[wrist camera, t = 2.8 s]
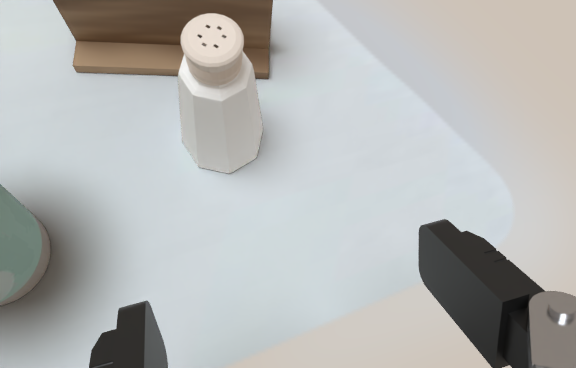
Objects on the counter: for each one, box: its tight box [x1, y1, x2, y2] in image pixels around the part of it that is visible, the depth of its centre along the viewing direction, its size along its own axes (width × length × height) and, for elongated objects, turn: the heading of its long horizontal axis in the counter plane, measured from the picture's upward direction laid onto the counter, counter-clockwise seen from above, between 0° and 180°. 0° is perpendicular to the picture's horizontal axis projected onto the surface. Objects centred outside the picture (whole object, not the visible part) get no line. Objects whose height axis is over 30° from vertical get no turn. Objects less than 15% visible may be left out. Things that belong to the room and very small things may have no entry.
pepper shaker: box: [178, 13, 263, 174], centre depth 26 cm, size 5×5×11 cm
